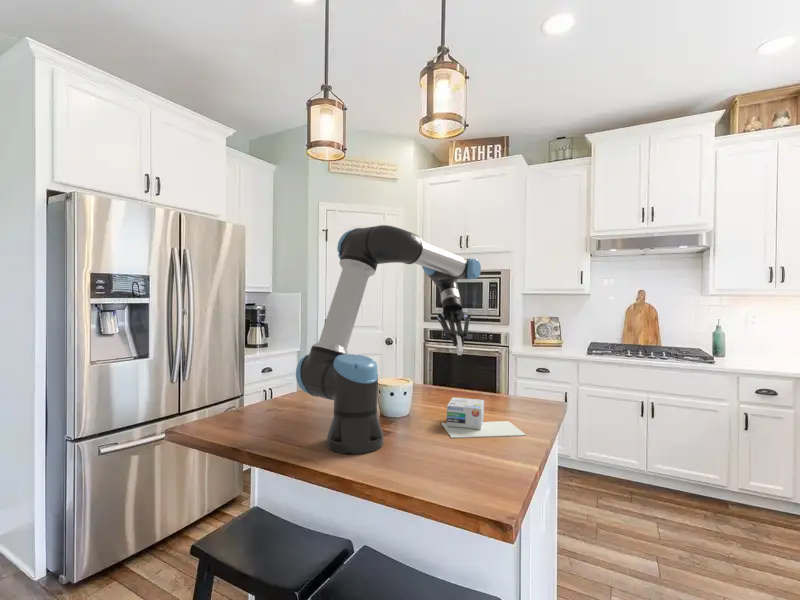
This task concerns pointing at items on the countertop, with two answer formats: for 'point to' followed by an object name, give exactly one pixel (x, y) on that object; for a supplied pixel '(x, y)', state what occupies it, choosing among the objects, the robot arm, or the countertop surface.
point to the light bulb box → (465, 413)
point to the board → (485, 430)
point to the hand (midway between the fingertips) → (460, 352)
